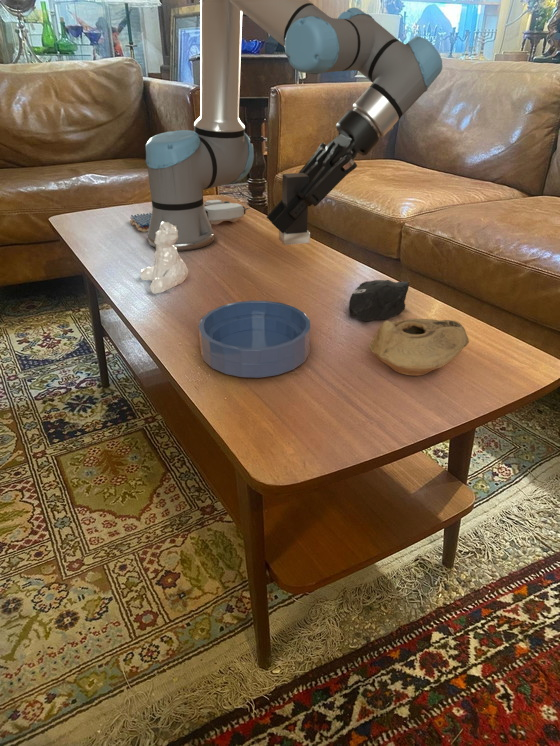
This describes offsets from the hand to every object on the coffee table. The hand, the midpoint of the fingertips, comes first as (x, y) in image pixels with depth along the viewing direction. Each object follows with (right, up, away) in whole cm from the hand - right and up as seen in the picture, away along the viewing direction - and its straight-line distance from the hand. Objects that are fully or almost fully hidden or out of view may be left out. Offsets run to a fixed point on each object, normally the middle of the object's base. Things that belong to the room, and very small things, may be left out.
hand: (274, 225), depth 100 cm
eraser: (+4, -2, +3) cm, 5 cm away
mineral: (+17, -17, -4) cm, 25 cm away
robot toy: (-15, +13, +44) cm, 48 cm away
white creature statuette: (-21, -10, +7) cm, 24 cm away
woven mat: (-31, +11, +40) cm, 52 cm away
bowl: (-3, -24, -17) cm, 29 cm away
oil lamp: (+21, -26, -20) cm, 39 cm away
